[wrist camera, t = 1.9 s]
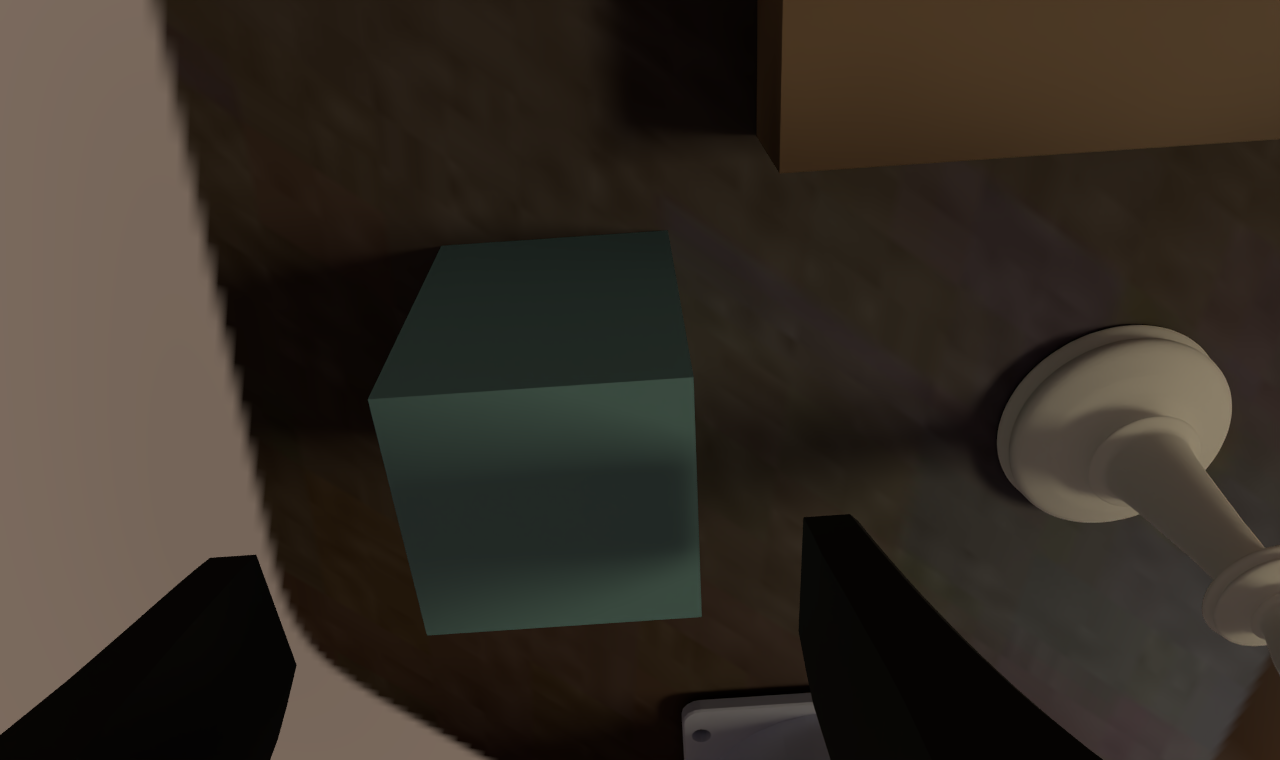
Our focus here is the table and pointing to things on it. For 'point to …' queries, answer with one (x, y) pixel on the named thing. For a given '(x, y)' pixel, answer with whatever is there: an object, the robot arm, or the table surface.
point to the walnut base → (1009, 78)
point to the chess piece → (1143, 460)
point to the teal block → (545, 436)
